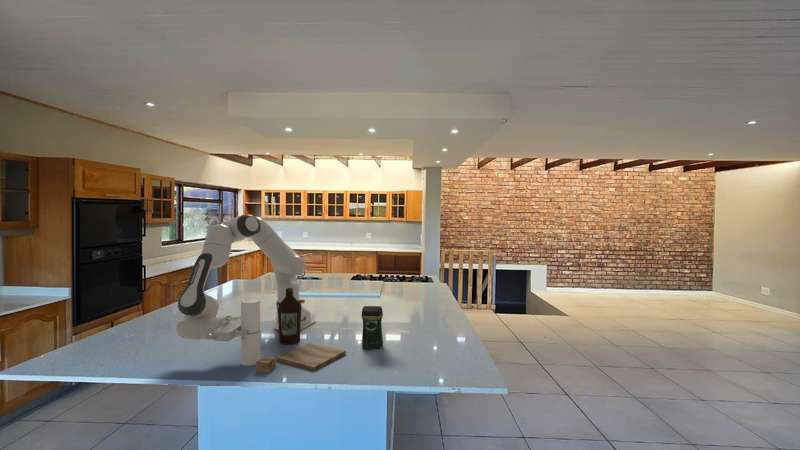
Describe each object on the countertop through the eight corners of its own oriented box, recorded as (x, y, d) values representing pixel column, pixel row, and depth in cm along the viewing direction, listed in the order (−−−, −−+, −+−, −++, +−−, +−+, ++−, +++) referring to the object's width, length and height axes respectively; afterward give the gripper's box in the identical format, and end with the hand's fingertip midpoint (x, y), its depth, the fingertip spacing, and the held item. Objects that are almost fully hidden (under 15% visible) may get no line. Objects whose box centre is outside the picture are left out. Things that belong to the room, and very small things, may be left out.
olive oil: (278, 338, 183) (278, 286, 182) (301, 336, 186) (301, 285, 185) (276, 345, 173) (276, 291, 172) (301, 344, 175) (300, 290, 174)
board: (310, 346, 173) (310, 342, 173) (345, 354, 163) (345, 350, 163) (276, 360, 155) (276, 357, 155) (313, 370, 146) (313, 367, 146)
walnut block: (264, 366, 150) (264, 356, 150) (275, 368, 149) (275, 357, 149) (256, 371, 145) (256, 361, 145) (268, 373, 144) (268, 362, 144)
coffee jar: (383, 344, 176) (384, 304, 175) (381, 350, 168) (382, 308, 167) (363, 343, 176) (363, 303, 176) (360, 349, 168) (360, 308, 168)
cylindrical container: (253, 366, 150) (253, 303, 149) (237, 364, 151) (237, 302, 150) (263, 359, 157) (263, 299, 156) (248, 358, 158) (247, 298, 157)
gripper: (204, 328, 144) (240, 329, 143) (230, 314, 164) (262, 314, 164) (204, 345, 144) (241, 345, 143) (230, 328, 164) (262, 329, 164)
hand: (252, 329), depth 154 cm, fingers open, 8 cm apart
